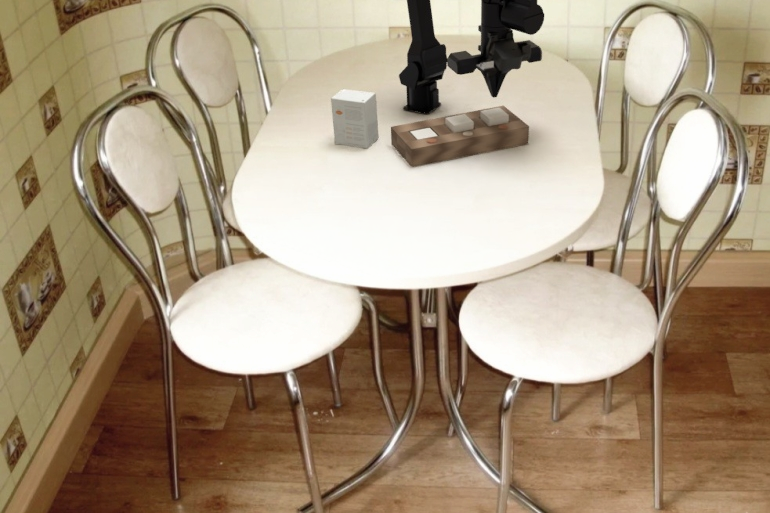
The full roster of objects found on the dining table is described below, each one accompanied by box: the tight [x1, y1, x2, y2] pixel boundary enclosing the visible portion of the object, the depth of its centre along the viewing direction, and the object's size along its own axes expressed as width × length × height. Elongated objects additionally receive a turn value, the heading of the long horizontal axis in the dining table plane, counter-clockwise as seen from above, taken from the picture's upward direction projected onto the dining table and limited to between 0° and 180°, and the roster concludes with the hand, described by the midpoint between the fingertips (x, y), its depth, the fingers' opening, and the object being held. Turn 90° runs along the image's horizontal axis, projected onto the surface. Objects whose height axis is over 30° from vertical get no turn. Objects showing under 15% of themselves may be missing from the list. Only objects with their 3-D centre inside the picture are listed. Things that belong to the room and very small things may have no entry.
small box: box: [330, 88, 380, 149], centre depth 201 cm, size 8×6×10 cm
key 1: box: [410, 128, 438, 140], centre depth 197 cm, size 4×4×3 cm
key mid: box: [445, 114, 474, 133], centre depth 198 cm, size 4×4×3 cm
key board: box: [390, 105, 530, 168], centre depth 199 cm, size 26×12×4 cm, turn 110°
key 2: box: [480, 108, 509, 126], centre depth 201 cm, size 4×4×3 cm
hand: (494, 96), depth 198 cm, fingers closed
